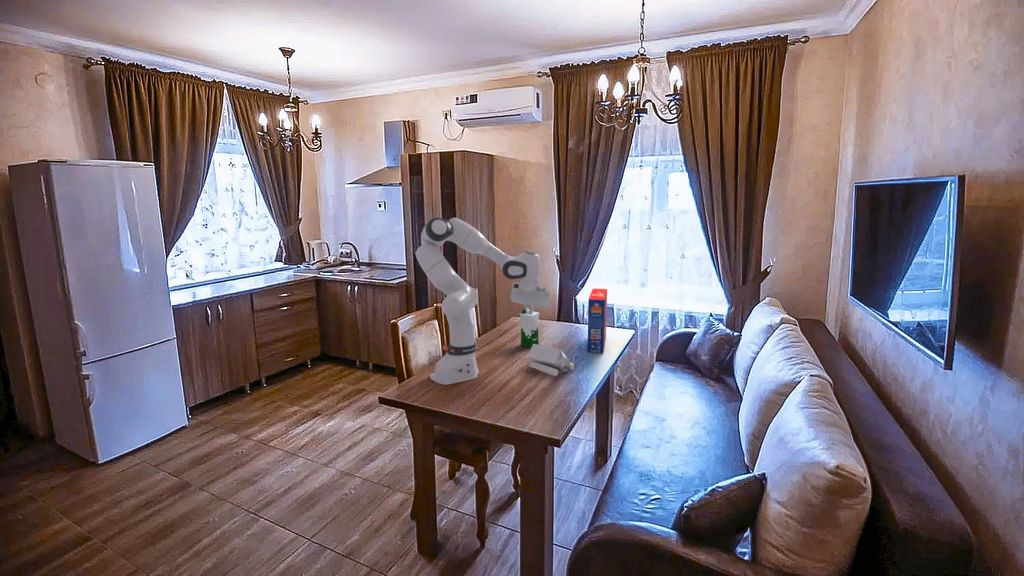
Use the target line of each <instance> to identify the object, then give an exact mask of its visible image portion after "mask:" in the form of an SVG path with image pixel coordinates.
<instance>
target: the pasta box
mask: <svg viewBox="0 0 1024 576" xmlns="http://www.w3.org/2000/svg"><path fill="white" fill-rule="evenodd" d="M589 294H590V295H589V296H588V304H587V305H588V307H587V308H588V309H587V311H588V312H587V313H588V316H587V318H588V320H587V354H589V353H592V354H604V352H605V346H606V340H607V313H608V312H607V310H608V308H607V307H608V289H607V288H592V290H591V291H590V293H589Z"/></svg>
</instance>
